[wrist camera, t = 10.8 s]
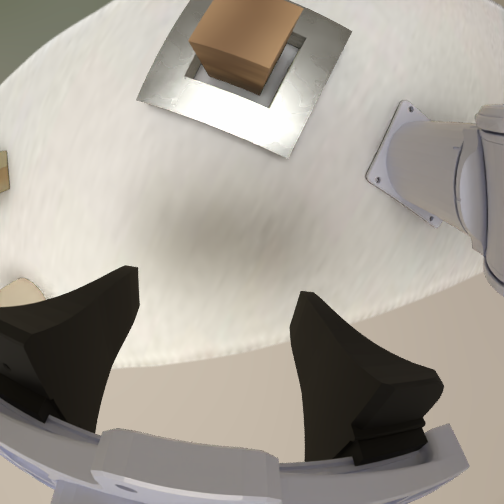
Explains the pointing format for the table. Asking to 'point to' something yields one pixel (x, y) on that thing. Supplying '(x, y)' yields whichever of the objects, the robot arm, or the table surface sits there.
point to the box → (4, 172)
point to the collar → (238, 108)
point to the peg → (244, 39)
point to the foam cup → (20, 293)
